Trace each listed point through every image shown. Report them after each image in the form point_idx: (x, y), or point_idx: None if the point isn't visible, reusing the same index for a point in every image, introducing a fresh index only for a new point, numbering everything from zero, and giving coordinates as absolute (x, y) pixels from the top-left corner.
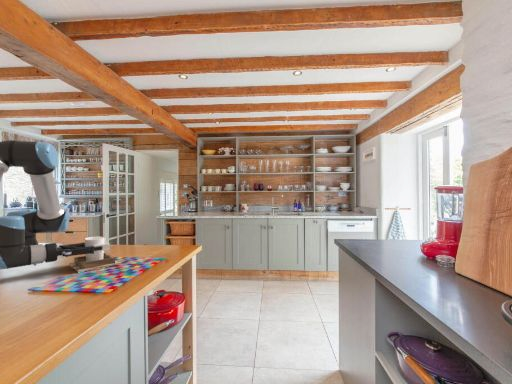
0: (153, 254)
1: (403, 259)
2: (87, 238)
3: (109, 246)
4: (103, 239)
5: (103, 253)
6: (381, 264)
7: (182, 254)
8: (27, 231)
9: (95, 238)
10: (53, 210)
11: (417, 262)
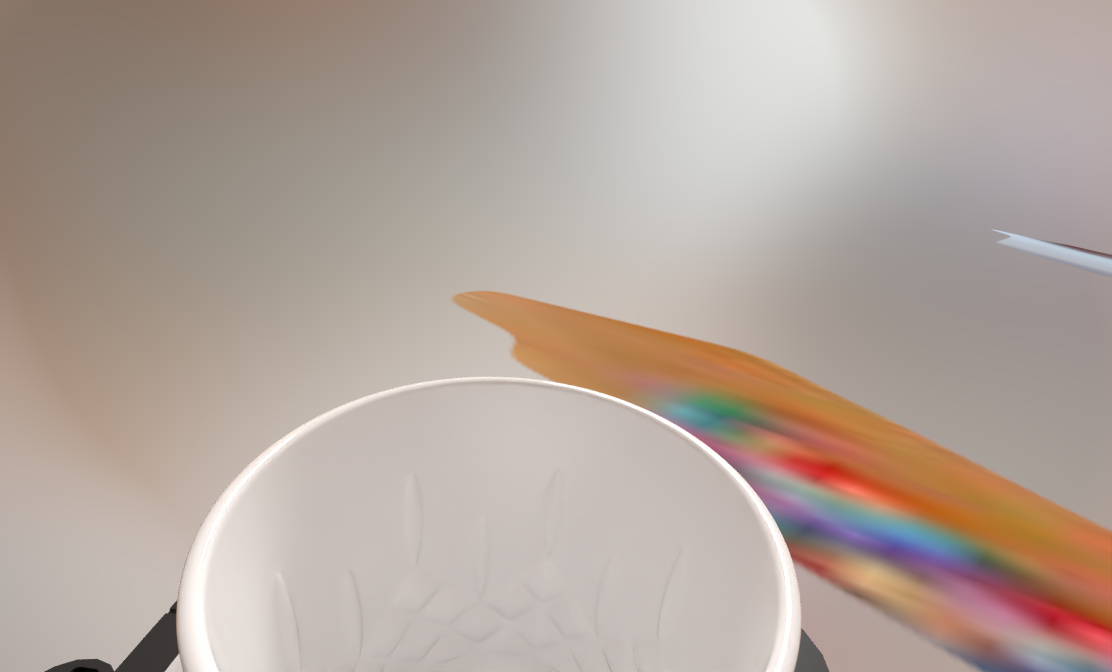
0: (553, 379)
1: (1057, 250)
2: (207, 626)
3: None
4: (678, 456)
5: (574, 664)
6: (1104, 271)
7: (685, 338)
8: None
9: (316, 470)
10: None
11: (1094, 255)
